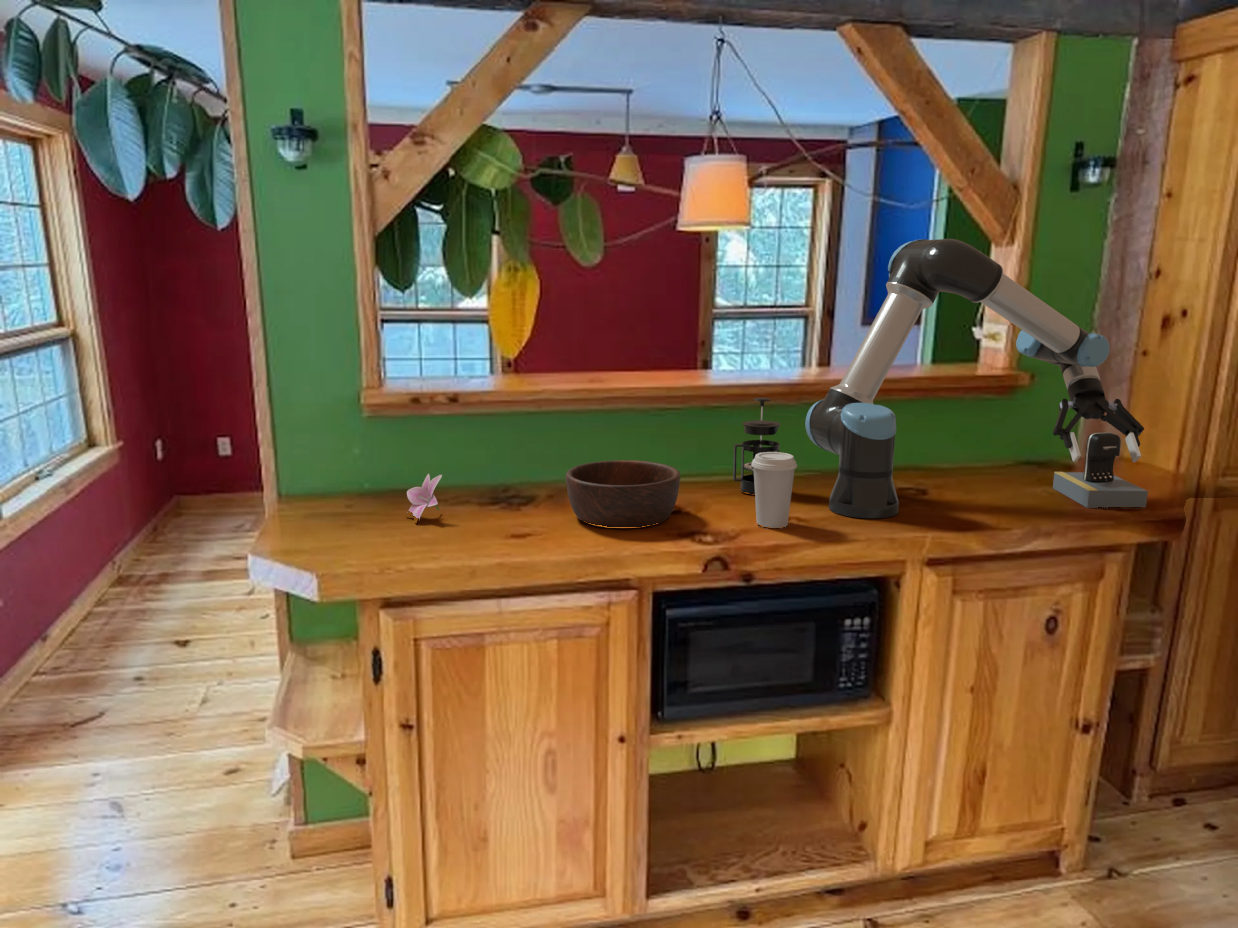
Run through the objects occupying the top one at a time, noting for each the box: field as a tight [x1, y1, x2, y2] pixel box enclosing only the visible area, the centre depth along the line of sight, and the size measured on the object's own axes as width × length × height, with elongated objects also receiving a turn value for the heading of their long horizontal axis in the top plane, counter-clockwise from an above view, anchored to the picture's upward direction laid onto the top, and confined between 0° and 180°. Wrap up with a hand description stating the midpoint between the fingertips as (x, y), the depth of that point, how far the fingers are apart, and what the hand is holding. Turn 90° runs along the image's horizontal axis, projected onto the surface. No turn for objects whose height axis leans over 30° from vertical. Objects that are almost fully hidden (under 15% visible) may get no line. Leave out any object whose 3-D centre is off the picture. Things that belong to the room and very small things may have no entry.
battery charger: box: [1083, 432, 1122, 482], centre depth 209 cm, size 7×4×11 cm, turn 101°
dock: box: [1052, 471, 1149, 509], centre depth 211 cm, size 13×18×4 cm
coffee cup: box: [751, 451, 798, 529], centre depth 189 cm, size 10×10×15 cm
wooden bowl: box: [565, 459, 681, 527], centre depth 196 cm, size 25×25×10 cm
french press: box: [732, 397, 781, 494], centre depth 216 cm, size 12×9×23 cm
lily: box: [406, 473, 443, 520], centre depth 196 cm, size 12×12×10 cm
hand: (1107, 459), depth 207 cm, fingers open, 13 cm apart
